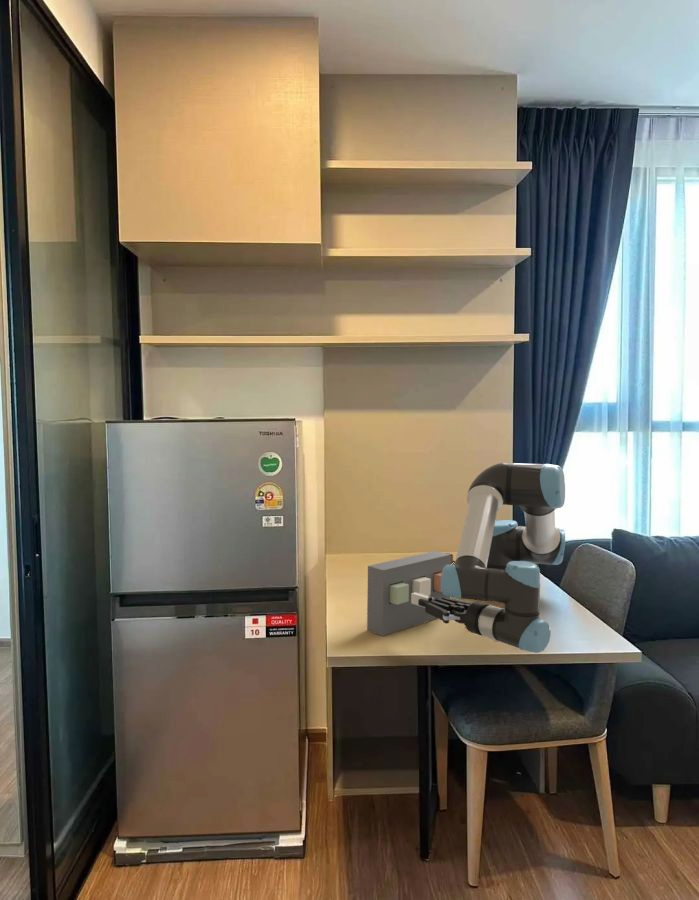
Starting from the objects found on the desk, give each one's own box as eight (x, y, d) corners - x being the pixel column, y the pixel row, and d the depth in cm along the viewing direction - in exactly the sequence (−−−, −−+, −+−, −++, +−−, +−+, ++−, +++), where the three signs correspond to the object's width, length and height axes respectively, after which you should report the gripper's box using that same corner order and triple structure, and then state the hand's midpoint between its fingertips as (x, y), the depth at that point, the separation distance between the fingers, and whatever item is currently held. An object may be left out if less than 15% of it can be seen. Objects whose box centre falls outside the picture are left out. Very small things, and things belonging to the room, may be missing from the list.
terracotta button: (436, 585, 196) (436, 569, 196) (451, 589, 192) (451, 573, 192) (426, 587, 193) (426, 572, 193) (440, 592, 189) (441, 576, 189)
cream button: (415, 590, 190) (416, 574, 190) (430, 595, 186) (430, 578, 186) (404, 593, 187) (405, 577, 187) (419, 598, 183) (419, 581, 183)
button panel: (434, 609, 201) (435, 550, 199) (449, 614, 196) (451, 554, 195) (367, 630, 182) (367, 565, 181) (382, 636, 178) (383, 570, 176)
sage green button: (394, 596, 184) (394, 580, 184) (408, 601, 180) (408, 584, 180) (382, 599, 181) (382, 583, 181) (396, 604, 177) (397, 587, 177)
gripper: (469, 642, 154) (395, 616, 171) (502, 629, 163) (429, 606, 180) (469, 610, 153) (396, 588, 171) (503, 599, 162) (429, 579, 180)
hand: (413, 597), depth 175 cm, fingers closed
